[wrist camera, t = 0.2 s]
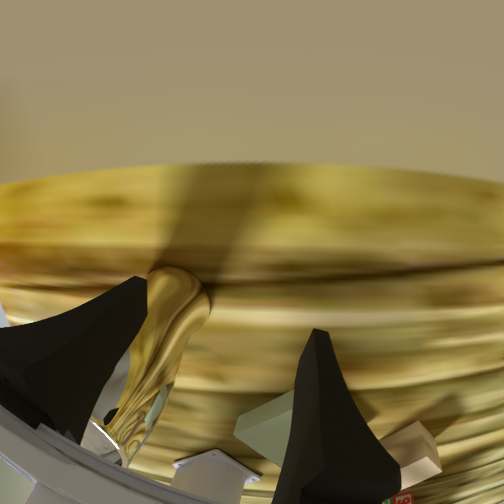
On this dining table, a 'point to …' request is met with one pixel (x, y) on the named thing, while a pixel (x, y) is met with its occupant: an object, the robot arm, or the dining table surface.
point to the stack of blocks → (400, 499)
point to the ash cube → (413, 453)
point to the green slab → (267, 428)
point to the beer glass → (147, 367)
